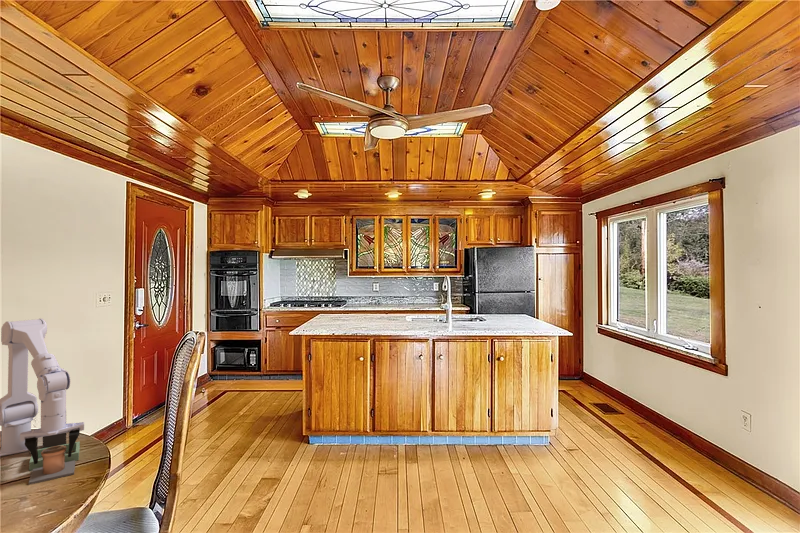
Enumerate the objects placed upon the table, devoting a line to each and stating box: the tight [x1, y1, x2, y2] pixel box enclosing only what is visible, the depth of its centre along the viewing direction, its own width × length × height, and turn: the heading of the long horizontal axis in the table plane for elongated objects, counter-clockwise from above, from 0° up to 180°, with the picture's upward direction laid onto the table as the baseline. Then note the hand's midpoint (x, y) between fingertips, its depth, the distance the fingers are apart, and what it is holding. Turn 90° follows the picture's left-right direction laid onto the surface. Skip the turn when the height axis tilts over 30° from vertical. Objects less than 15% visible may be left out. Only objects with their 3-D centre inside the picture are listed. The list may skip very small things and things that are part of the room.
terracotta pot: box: [41, 446, 67, 474], centre depth 123 cm, size 6×6×6 cm
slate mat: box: [28, 460, 76, 485], centre depth 123 cm, size 9×10×1 cm
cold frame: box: [28, 441, 81, 472], centre depth 131 cm, size 10×12×2 cm
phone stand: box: [42, 433, 67, 449], centre depth 139 cm, size 9×6×12 cm, turn 40°
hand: (53, 459), depth 123 cm, fingers open, 7 cm apart
